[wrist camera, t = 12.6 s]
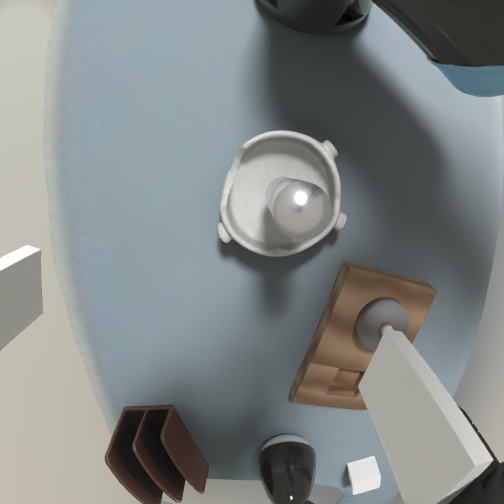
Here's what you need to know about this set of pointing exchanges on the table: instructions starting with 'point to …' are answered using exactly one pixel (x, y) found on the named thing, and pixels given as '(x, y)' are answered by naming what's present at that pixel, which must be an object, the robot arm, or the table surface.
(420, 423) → the robot arm
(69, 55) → the table surface
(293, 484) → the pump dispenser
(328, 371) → the plate
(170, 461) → the letter holder
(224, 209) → the dish
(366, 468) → the white cube
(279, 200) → the pin
